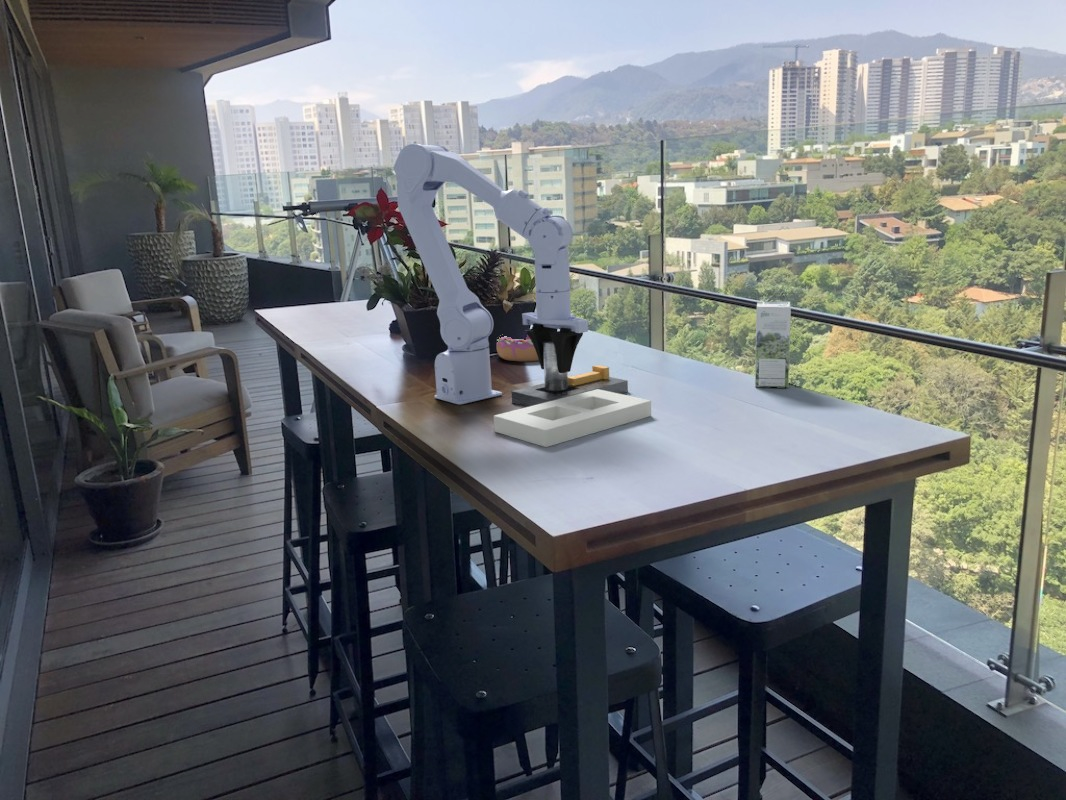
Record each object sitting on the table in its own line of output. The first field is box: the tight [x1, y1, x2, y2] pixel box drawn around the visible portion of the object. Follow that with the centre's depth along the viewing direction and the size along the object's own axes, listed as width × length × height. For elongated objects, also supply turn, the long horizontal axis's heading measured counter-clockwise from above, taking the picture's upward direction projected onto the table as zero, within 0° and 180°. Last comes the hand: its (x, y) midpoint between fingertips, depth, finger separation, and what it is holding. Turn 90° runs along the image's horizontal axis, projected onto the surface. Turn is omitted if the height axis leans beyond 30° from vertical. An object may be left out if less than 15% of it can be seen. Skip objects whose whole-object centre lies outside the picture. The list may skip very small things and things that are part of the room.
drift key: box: [568, 364, 610, 386], centre depth 153 cm, size 8×3×2 cm, turn 130°
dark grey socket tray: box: [511, 376, 629, 407], centre depth 151 cm, size 18×10×2 cm, turn 130°
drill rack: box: [493, 389, 652, 448], centre depth 134 cm, size 22×12×2 cm, turn 130°
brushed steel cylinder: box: [543, 340, 569, 391], centre depth 148 cm, size 4×4×8 cm
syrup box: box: [754, 301, 792, 389], centre depth 151 cm, size 6×6×14 cm
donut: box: [495, 335, 539, 363], centre depth 188 cm, size 14×14×5 cm
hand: (555, 370), depth 148 cm, fingers closed on brushed steel cylinder, 4 cm apart
